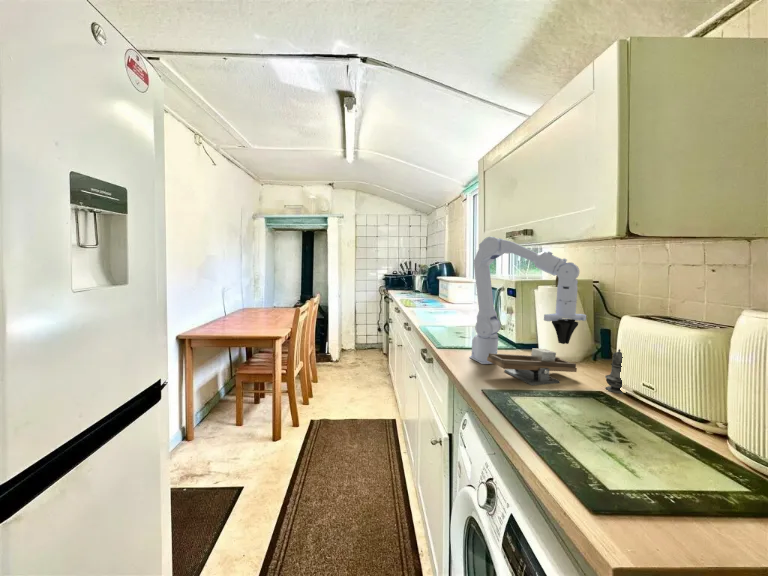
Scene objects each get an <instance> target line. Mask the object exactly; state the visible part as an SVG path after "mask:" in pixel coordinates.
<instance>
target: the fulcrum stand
mask: <svg viewBox="0 0 768 576" xmlns="http://www.w3.org/2000/svg"><path fill="white" fill-rule="evenodd" d="M549 370H550V369H549V368H539V370H519V369H504V373H506V374H508V375H510V376H512V377H514V378H515V379H518V380H519V381H521V382H524V383H525V384H527V385H529V386H537V385H538V386H539V385H551V384H560V379H557V378H555V377H552V376H550V371H549Z"/></svg>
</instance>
